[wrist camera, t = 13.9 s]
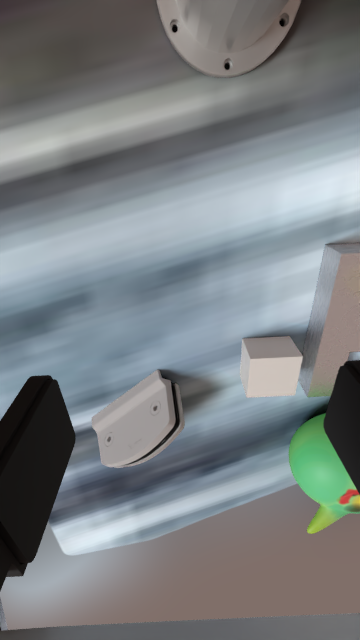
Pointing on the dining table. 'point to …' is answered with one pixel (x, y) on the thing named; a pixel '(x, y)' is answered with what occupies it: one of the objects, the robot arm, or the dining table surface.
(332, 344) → the plate
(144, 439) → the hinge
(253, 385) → the beige square block
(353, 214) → the dining table surface
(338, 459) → the toy bird
